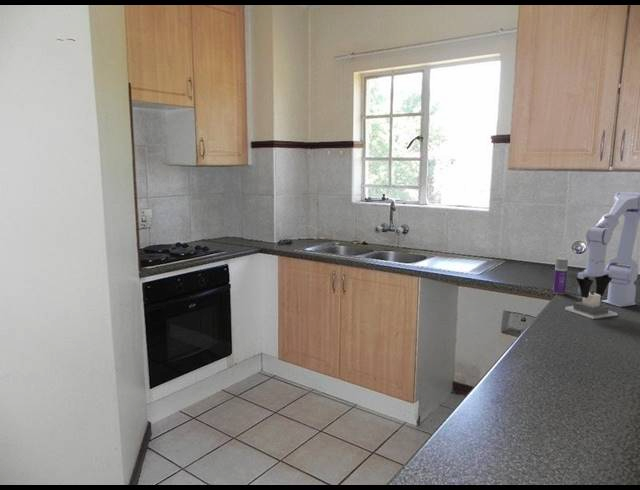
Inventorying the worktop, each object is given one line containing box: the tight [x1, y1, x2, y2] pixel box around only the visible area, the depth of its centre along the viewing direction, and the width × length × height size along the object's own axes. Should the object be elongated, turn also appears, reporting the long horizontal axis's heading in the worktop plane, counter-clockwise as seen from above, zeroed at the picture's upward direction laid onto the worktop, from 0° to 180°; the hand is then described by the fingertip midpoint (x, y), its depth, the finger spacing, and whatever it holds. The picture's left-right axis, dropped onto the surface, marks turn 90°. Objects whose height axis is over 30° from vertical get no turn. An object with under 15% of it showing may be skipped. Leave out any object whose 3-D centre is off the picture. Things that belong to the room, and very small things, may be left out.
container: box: [552, 257, 569, 295], centre depth 201 cm, size 5×5×15 cm
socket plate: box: [564, 301, 618, 320], centre depth 175 cm, size 12×12×3 cm
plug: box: [581, 289, 602, 308], centre depth 174 cm, size 4×4×7 cm
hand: (592, 296), depth 174 cm, fingers open, 7 cm apart
